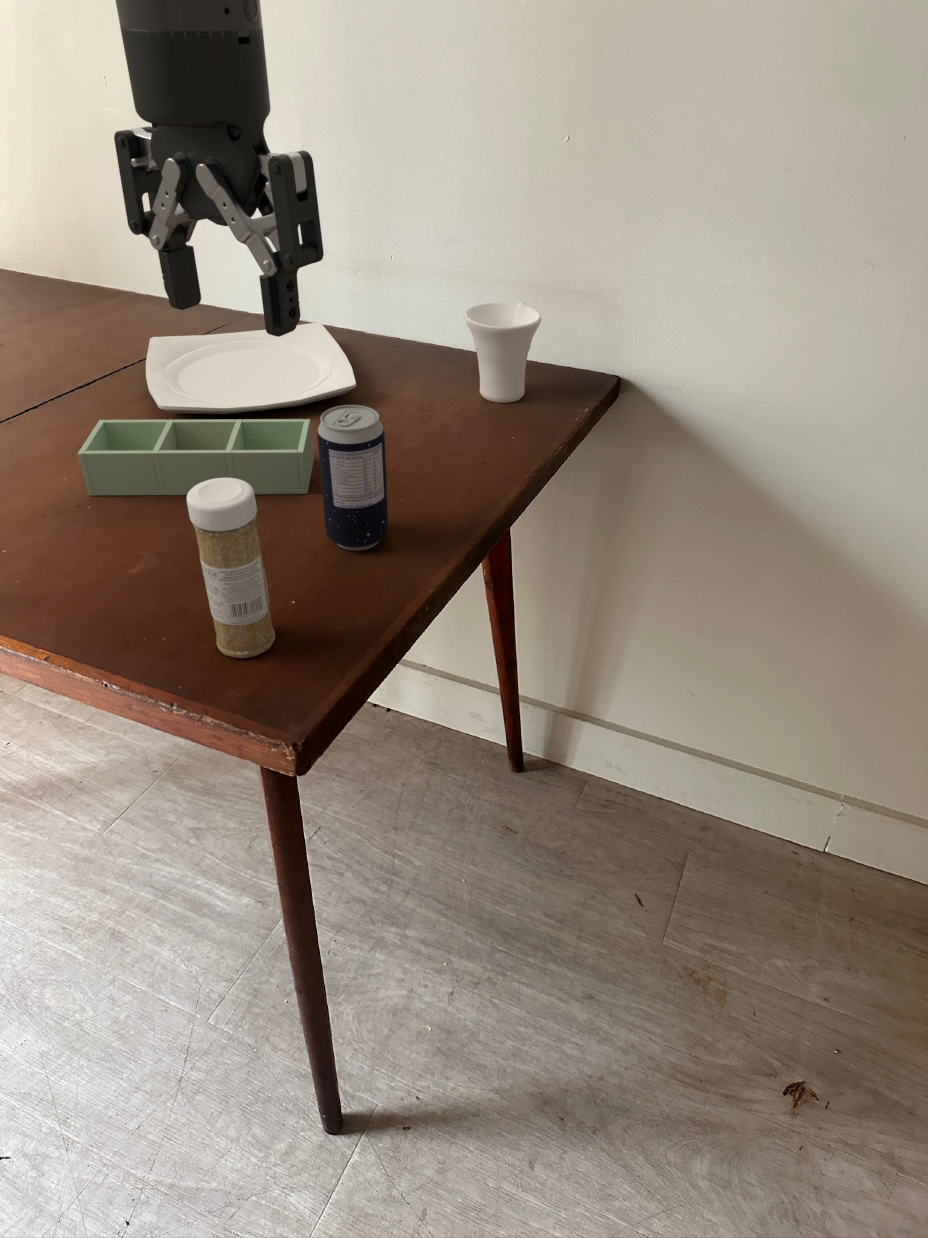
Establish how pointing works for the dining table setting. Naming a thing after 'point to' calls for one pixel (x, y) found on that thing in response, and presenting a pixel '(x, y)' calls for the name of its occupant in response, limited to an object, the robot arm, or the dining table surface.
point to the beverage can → (353, 476)
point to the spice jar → (232, 565)
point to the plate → (246, 370)
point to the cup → (502, 347)
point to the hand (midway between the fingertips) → (233, 319)
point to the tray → (197, 455)
